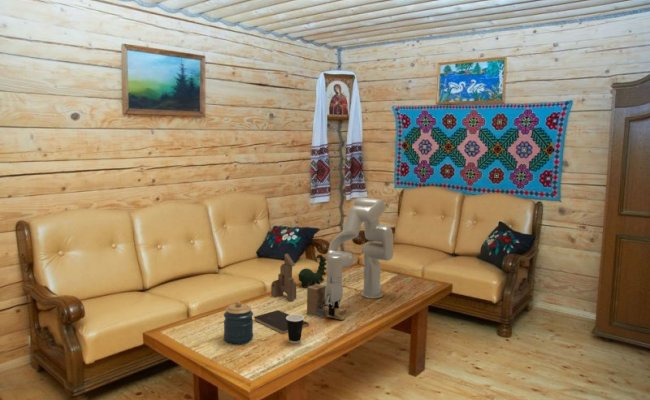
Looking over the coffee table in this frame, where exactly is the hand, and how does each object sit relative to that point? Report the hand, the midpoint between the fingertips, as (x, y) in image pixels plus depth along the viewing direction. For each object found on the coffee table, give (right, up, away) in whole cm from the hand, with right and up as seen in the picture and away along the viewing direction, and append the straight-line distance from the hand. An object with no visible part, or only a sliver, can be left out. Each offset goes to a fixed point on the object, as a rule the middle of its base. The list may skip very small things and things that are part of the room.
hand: (333, 313), depth 253 cm
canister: (-43, -5, -29) cm, 52 cm away
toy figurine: (-13, +5, +55) cm, 57 cm away
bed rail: (0, -1, 0) cm, 2 cm away
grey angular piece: (-7, -1, +5) cm, 9 cm away
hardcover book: (-26, -3, -8) cm, 28 cm away
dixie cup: (-18, -6, -30) cm, 35 cm away
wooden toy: (-27, +2, +30) cm, 41 cm away
